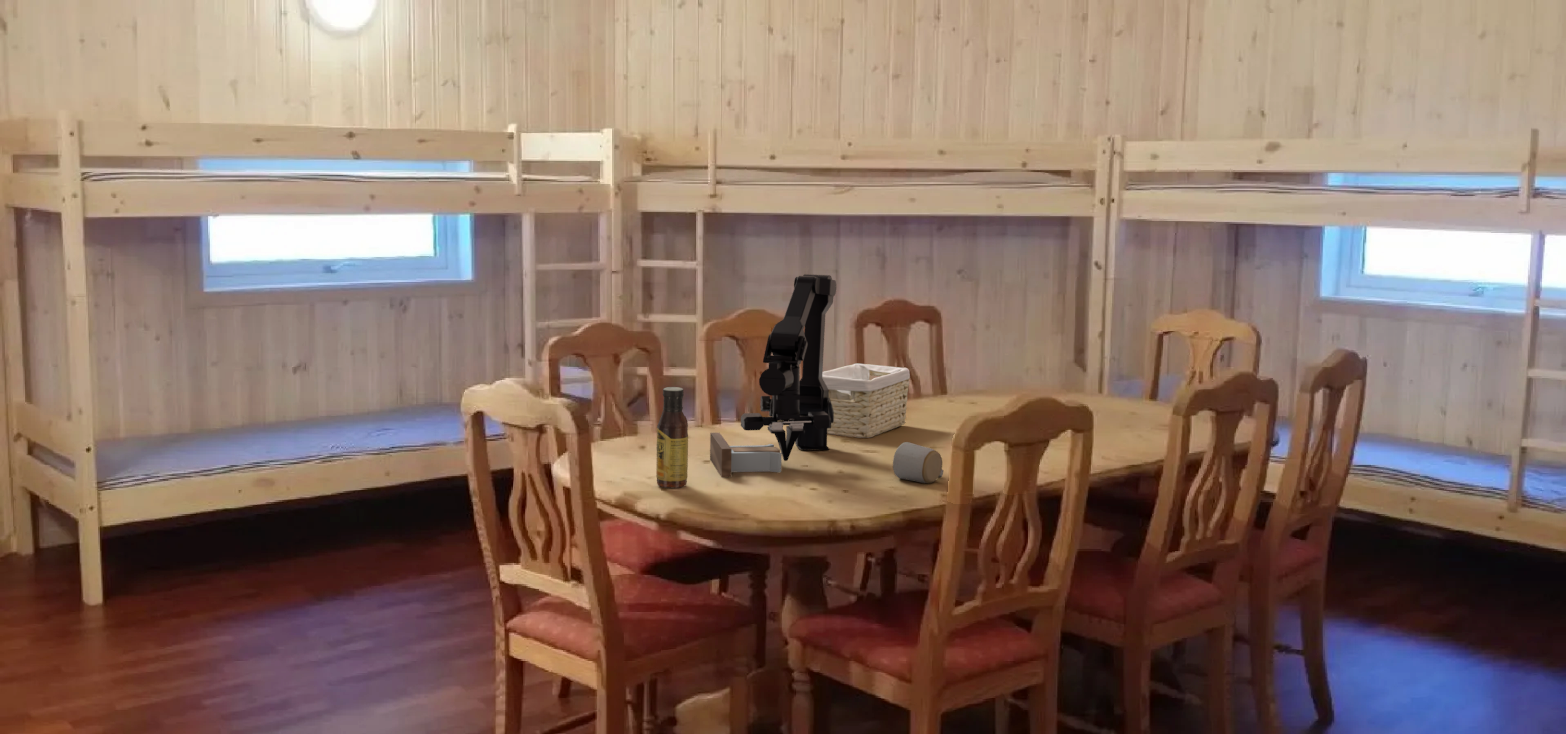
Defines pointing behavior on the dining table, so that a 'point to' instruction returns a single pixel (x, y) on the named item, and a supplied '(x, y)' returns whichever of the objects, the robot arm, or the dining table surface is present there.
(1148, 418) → the dining table surface
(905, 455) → the ceramic mug
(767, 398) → the robot arm
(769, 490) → the dining table surface
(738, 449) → the rectangular wooden block
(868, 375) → the storage basket
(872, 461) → the dining table surface
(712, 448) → the backstop
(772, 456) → the cradle
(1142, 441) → the dining table surface
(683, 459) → the sauce bottle
